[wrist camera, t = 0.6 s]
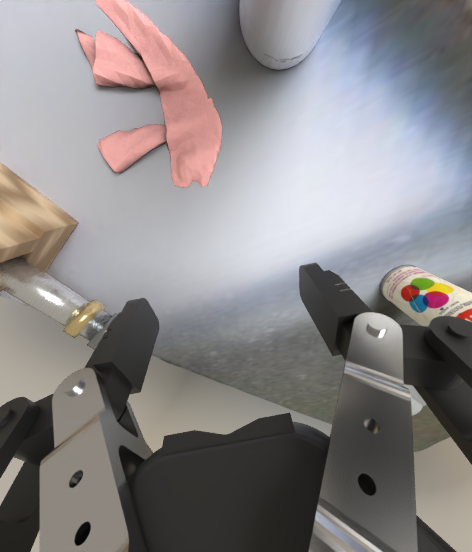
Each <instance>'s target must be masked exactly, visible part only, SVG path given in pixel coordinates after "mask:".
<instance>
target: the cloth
mask: <svg viewBox="0 0 472 552" xmlns="http://www.w3.org/2000/svg"><path fill="white" fill-rule="evenodd" d="M95 1H96V3H97V5H98V6H99V7H100V8H101V9H102V10H103V11H104V12H105V14H106V15H107V16H108V17H109V18H110V19H111V20H112V21H113V22H114V23H115V25H116V26H117V27H118V28H119V29H120V31H121V32H122V33H123V34H124V35H125V37H126V38H127V39H128V41H129V42H130V43H131V44H132V46H133V47H134V48H135V49H136V51H137V52H138V53H139V54H140V55H141V56H142V57H141V56H139V55H138V54H136V53H134V52H133V51H132V50H130V49H129V48H128V47H127V46H126V45H125V44H123V43H122V42H121V41H119V40H118V39H116V38H114V37H112V36H110V35H108V34H106V33H104V32H101V31H97V33H96V37H95V39H93V38H92V37H91V36H89V35H87V34H85V33H83V32H82V31H80V30H78V29H76V30H75V31H76V32H77V34H78V37H79V40H80V43H81V45H82V47H83V50H84V52H85V54H86V56H87V58H88V60H89V62H90V64H91V67H92V70H93V75H94V79H95V82H96V84H99V85H103V86H111V87H120V86H125V85H126V86H129V87H132V88H138V89H143V88H150V87H153V86H157V88H158V89H159V92H160V97H161V103H162V109H163V112H164V121H165V125H157V124H155V125H146V126H144V127H141V128H135V129H133V130H131V131H117V132H115V133H113V134H111V135H109V136H107V137H105V138H103V139H100V142H99V144H98V145H97V146H98V148H99V150H100V151H101V153H102V155H103V157H104V159H105V160H106V161H107V163H108V164H109V165H110V167H111V168H112V169H113V171H115V172H118V173H122V172H123V171H125V170H126V169H127V168H129V167H130V166H131V165H132V164H133V163H135V162H136V161H137V160H138V159H139V158H141V157H142V156H143V155H144V154H146V153H147V152H149V151H150V150H153V149H155V148H157V147H159V146H161V145H163V144H165V143H167V144H168V147H169V151H170V156H171V170H172V179H173V181H174V184H175V186H179V187H189V186H190V184H191V182H192V181H198V182H199V184H200V185H201V187H205V186H207V185H208V182H209V180H210V176H211V174H212V172H213V170H214V165H215V163H216V160H217V154H218V153H219V151H220V146H221V136H222V124H221V121H220V118H219V115H218V112H217V110H216V109H215V108H214V102H213V100H212V97H211V98H208V94H207V92H205V89H204V86H203V84H202V81H200V80H199V77H198V76H197V74H196V72H195V70H194V69H193V68H192V66H191V64H190V62H189V61H188V59H187V58H186V56H185V55H184V54H183V53H181V52H180V50H179V49H178V47H176V46H175V45H174V44H173V43H172V41H171V40H170V39H169V38H168V37H167V36H166V35H165V34H163V33H161V32H160V31H159V29H158V28H157V27H156V26H154V24H153V23H152V22H151V21H150V20H149V18H148V17H147V16H146V15H145V14H144V13H142V12H141V11H139V10H137V8H135V7H133V6H131V4H130V3H129V2H127V1H126V0H95Z"/></svg>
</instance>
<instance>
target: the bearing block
mask: <svg viewBox="0 0 472 552" xmlns="http://www.w3.org/2000/svg"><path fill="white" fill-rule="evenodd" d="M77 224H78V222H77V221H76V220H74V219H73V218H72V217H70V216H69V215H68V214H67V213H65V212H64V211H63V210H61V209H60V208H59V207H57V206H56V205H55V204H54V203H52V202H51V201H50V200H48V199H47V198H46V197H44V196H43V195H42V194H41V193H39V192H38V191H37V190H35V189H34V188H33V187H31V186H30V185H29V184H27V183H26V182H25V181H24V180H22V179H21V178H20V177H18V176H17V175H16V174H14V173H13V172H12V171H11V170H9V169H8V168H7V167H5V166H4V165H3V164H1V163H0V263H1V262H4V261H7V260H10V259H12V258H15V257H18V256H20V257H22V258H24V259H25V260H27V261H28V262H30V263H31V264H33V265H34V266H36V267H37V268H39V269H40V270H42V271H43V272H46V270H47V269H48V267H49V266H50V265H51V263H52V262H53V260H54V259H55V257H56V256H57V254H58V253H59V251H60V250H61V248H62V247H63V245H64V244H65V242H66V241H67V239H68V238H69V236H70V235H71V233H72V232H73V230H74V229H75V227H76V226H77ZM0 291H2V289H1V288H0Z"/></svg>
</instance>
